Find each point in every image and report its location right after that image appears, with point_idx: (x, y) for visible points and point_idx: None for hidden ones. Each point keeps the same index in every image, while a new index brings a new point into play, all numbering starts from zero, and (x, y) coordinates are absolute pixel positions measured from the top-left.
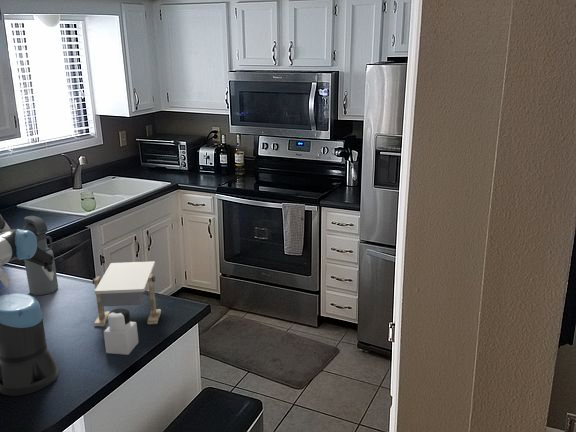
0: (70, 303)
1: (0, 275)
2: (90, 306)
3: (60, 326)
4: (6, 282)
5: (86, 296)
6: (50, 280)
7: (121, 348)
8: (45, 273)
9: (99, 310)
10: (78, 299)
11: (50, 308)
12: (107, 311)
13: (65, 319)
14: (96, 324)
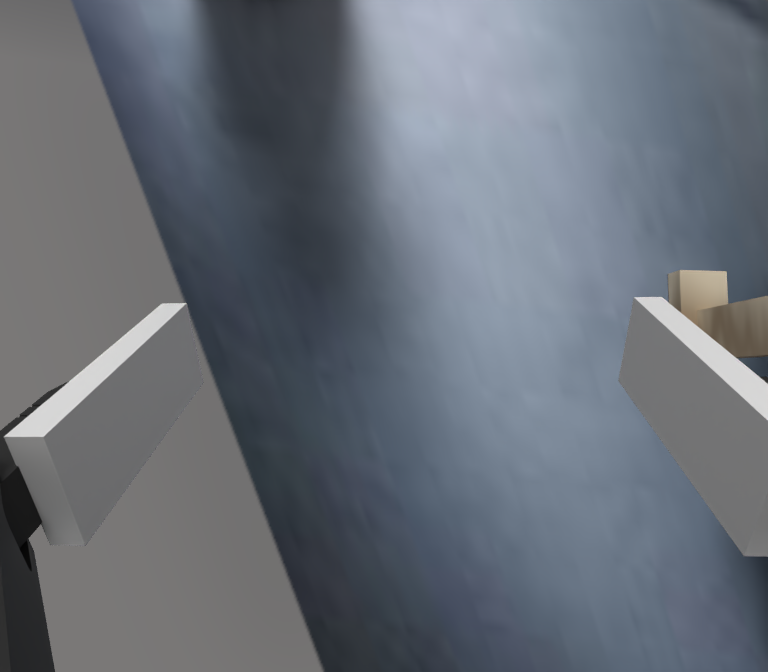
0: (466, 117)
1: (105, 502)
2: (583, 167)
3: (497, 376)
4: (178, 395)
5: (526, 44)
6: (621, 380)
7: None
8: (677, 461)
9: (745, 357)
10: (494, 74)
11: (376, 162)
12: (715, 271)
13: (498, 300)
14: None
